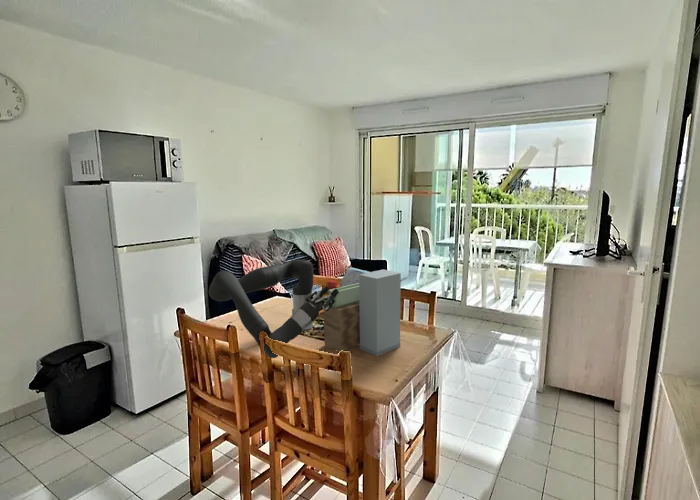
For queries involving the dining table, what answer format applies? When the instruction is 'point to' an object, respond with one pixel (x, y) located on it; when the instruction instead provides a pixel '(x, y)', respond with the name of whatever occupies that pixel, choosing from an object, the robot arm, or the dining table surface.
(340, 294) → the sage crate
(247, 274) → the robot arm
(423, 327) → the dining table surface
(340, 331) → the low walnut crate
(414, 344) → the dining table surface
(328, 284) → the stacking bear
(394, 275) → the block
